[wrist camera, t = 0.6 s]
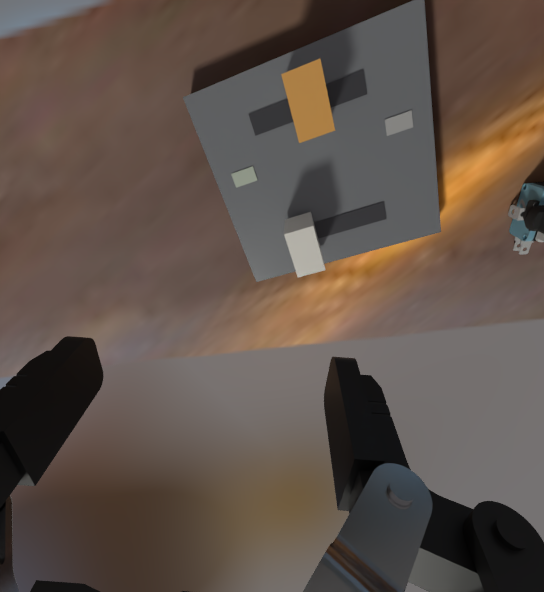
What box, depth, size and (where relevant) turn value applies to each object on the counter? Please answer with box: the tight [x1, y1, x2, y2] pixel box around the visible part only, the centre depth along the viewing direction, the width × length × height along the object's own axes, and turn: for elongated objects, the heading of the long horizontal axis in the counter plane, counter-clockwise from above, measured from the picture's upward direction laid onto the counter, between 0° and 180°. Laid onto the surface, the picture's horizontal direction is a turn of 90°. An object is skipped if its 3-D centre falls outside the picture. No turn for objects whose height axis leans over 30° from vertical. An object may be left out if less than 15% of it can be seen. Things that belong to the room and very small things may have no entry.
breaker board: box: [183, 0, 441, 282], centre depth 26 cm, size 18×17×6 cm
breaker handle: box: [281, 59, 335, 143], centre depth 22 cm, size 2×4×4 cm, turn 18°
